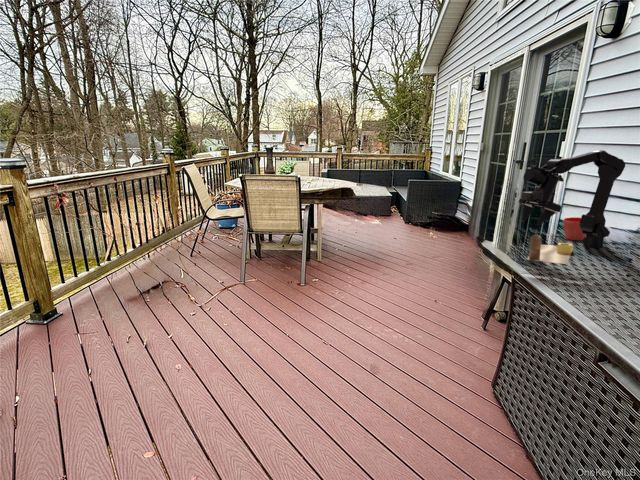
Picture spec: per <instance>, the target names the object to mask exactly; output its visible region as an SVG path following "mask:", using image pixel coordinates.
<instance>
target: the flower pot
mask: <svg viewBox="0 0 640 480" xmlns="http://www.w3.org/2000/svg"><path fill="white" fill-rule="evenodd" d="M580 221H581V217H575V216H574V217H564V218H563V229H564V236H565V239H567V240H571V241H584V237H586V234H583V233H582V229H581V227H580V223H579V222H580Z"/></svg>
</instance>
